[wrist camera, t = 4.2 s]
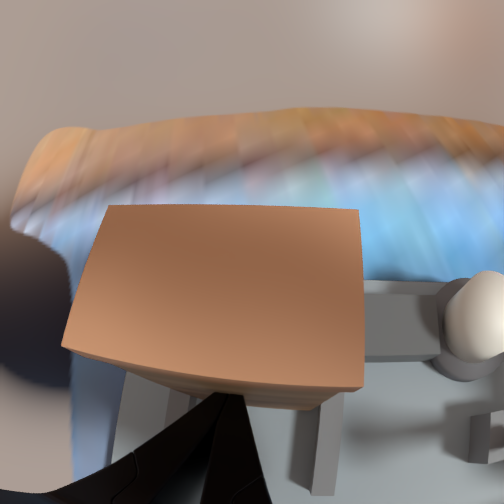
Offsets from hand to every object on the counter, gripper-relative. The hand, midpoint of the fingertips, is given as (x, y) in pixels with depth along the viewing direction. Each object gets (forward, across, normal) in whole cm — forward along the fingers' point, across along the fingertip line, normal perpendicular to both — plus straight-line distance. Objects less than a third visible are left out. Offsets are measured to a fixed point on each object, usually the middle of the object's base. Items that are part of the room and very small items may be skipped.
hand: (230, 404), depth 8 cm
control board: (+5, -6, +5) cm, 9 cm away
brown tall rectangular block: (+6, 0, +3) cm, 6 cm away
